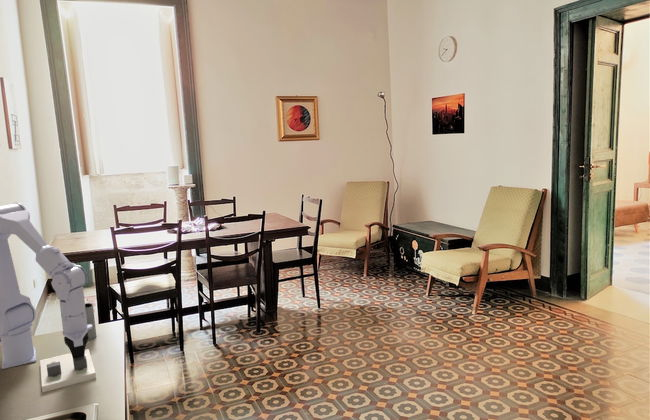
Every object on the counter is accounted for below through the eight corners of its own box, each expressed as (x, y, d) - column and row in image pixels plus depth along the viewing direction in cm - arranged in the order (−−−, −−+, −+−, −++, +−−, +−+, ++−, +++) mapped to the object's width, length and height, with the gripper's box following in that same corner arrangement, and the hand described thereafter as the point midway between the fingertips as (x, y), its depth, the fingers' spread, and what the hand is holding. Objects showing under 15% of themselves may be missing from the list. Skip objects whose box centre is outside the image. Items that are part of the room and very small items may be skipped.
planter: (90, 341, 146) (86, 309, 144) (76, 340, 147) (72, 308, 145) (99, 334, 150) (96, 303, 149) (86, 333, 151) (83, 302, 149)
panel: (40, 365, 132) (40, 359, 132) (89, 353, 138) (88, 348, 138) (42, 392, 119) (41, 386, 118) (96, 378, 125) (95, 372, 124)
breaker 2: (73, 367, 127) (72, 358, 126) (86, 364, 128) (85, 355, 128) (74, 370, 125) (73, 361, 125) (87, 367, 127) (86, 358, 126)
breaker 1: (47, 373, 124) (46, 364, 124) (60, 370, 126) (59, 361, 125) (48, 376, 122) (46, 367, 122) (61, 373, 124) (60, 364, 123)
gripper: (93, 318, 122) (99, 368, 124) (87, 301, 134) (92, 346, 136) (62, 325, 118) (68, 376, 121) (58, 306, 130) (64, 353, 133)
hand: (79, 361), depth 128 cm, fingers closed
